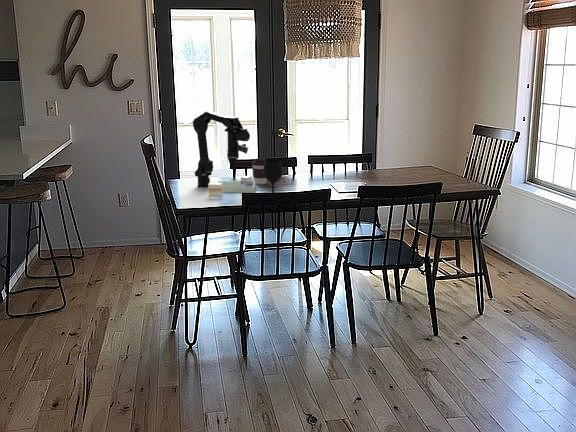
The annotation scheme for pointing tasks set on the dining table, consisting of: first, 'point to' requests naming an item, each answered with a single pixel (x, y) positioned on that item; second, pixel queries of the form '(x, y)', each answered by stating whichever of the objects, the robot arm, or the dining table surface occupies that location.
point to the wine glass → (273, 171)
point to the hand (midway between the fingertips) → (233, 168)
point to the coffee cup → (258, 171)
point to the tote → (236, 186)
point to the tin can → (246, 181)
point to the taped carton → (215, 189)
